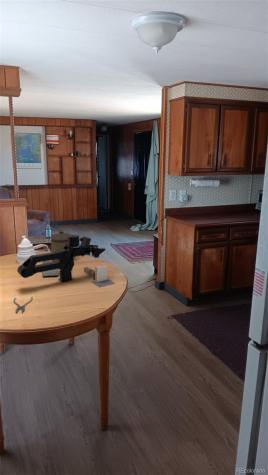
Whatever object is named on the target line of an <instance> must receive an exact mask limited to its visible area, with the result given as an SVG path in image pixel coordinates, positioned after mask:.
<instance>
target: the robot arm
mask: <svg viewBox="0 0 268 475" xmlns="http://www.w3.org/2000/svg"><path fill="white" fill-rule="evenodd" d="M91 241H92V238H91V237H88V236H81V237H80V235H79V234H71V236H69V237H68V244H66V245H65V246H64V247H63V248H61V249H58V250H56V251H55V252H51V251H50V252H45V253H40V254H36V255H31V256H30V257H29V258H28V259H27V260H26V261H25V262H24V263H23V264H20V265H19V266H18V267H17V270H16V271H17V273H18V275H19V276H21V277H22V278H23V279H27V278H30V277H32V276H34V275H36V274H37V273H38V274H39V273H42V272H44V271H49V270H55V269H58V272H59V276H58V277H59V278H58V281H59V282H61V283H66V282H67V283H68V282H71V281H73V279H72V278H73V272H72V271H73V268H74V266H75V262H74V261H75V260H74V259H75V258H77V257H85V256H90V255H91V257H92V258H95V259H99V258H100V255H101V254H102V253H104V252H105V251H106V248H104V247H103V248H102V247H100V248H99V245H98V244H91ZM67 249H69V250H67ZM55 259H59V260H58V261H56V262H51V263H45V264H42V262H45V261H52V260H55ZM38 263H41V264H38Z"/></svg>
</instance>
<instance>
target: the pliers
mask: <svg viewBox="0 0 268 475" xmlns="http://www.w3.org/2000/svg"><path fill="white" fill-rule="evenodd" d="M16 299H17V298H16V297H14V298H13V304H15V305H16V306H17V307H16V310H15V314H18V313H19V312H20V310H21V313H22V314H24V313H25V311H26V308H25V307H26V306H27V305H28V304H30V303H32V302H33V296H31V297H30V300H29V301H27V302H25V303H24V304H23V305H20V304H19V303H18V302H16Z"/></svg>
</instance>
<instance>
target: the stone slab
mask: <svg viewBox="0 0 268 475" xmlns="http://www.w3.org/2000/svg"><path fill="white" fill-rule="evenodd" d="M51 262H53V261H52V260H49V261H43V262H41V264H45V263H51ZM41 275H42V278H45V277H47V276H57V277H59V269H55V270H49V271H44V272H41Z"/></svg>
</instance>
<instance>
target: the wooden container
mask: <svg viewBox="0 0 268 475" xmlns="http://www.w3.org/2000/svg"><path fill="white" fill-rule="evenodd" d="M71 235H72V234H71V233H67V232H64V230H62V229H59V230H58V233H53V234H51V235H50V248H51V249H50V253H51V252H55V251H56V250H58V249H61V248H63V247H64V246H65V245H66V244H68V237H69V236H71ZM67 250H69V249H67ZM58 260H59V259H55V260H51V261H53V262H56V261H58Z"/></svg>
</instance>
